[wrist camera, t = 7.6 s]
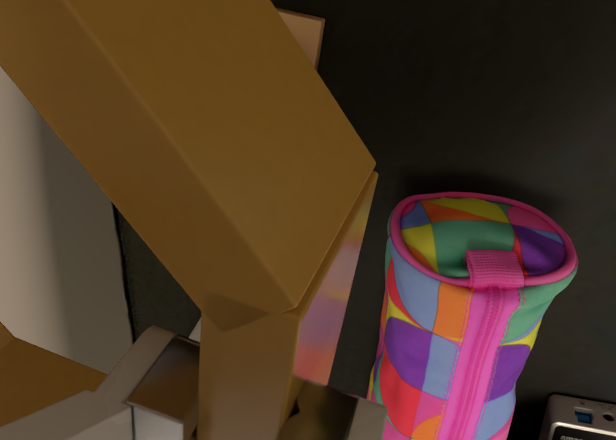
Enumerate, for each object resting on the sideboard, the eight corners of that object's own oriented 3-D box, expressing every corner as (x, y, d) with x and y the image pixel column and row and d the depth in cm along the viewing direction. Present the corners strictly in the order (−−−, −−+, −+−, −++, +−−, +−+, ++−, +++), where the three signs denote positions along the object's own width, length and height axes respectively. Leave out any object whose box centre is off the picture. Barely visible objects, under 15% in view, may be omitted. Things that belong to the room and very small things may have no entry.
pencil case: (498, 458, 38) (498, 591, 31) (368, 426, 41) (340, 542, 33) (574, 187, 27) (603, 292, 20) (390, 165, 30) (355, 251, 22)
